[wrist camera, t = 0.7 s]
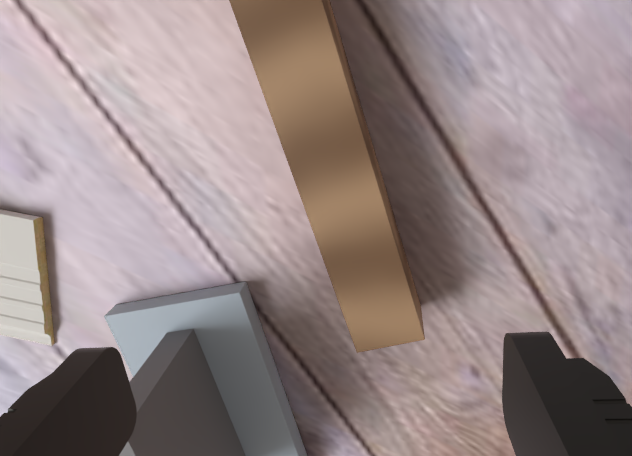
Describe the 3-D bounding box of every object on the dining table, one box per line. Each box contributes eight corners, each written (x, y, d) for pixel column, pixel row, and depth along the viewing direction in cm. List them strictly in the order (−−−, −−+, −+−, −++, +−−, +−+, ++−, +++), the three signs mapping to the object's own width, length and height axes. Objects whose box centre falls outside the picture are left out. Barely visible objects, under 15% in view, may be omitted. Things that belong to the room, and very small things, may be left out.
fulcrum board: (246, 281, 31) (181, 390, 22) (309, 462, 36) (281, 614, 27) (115, 304, 33) (5, 413, 24) (193, 471, 39) (128, 615, 29)
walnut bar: (222, -81, 24) (191, -103, 20) (295, -115, 23) (277, -145, 19) (360, 315, 31) (357, 352, 28) (420, 303, 30) (424, 339, 27)
